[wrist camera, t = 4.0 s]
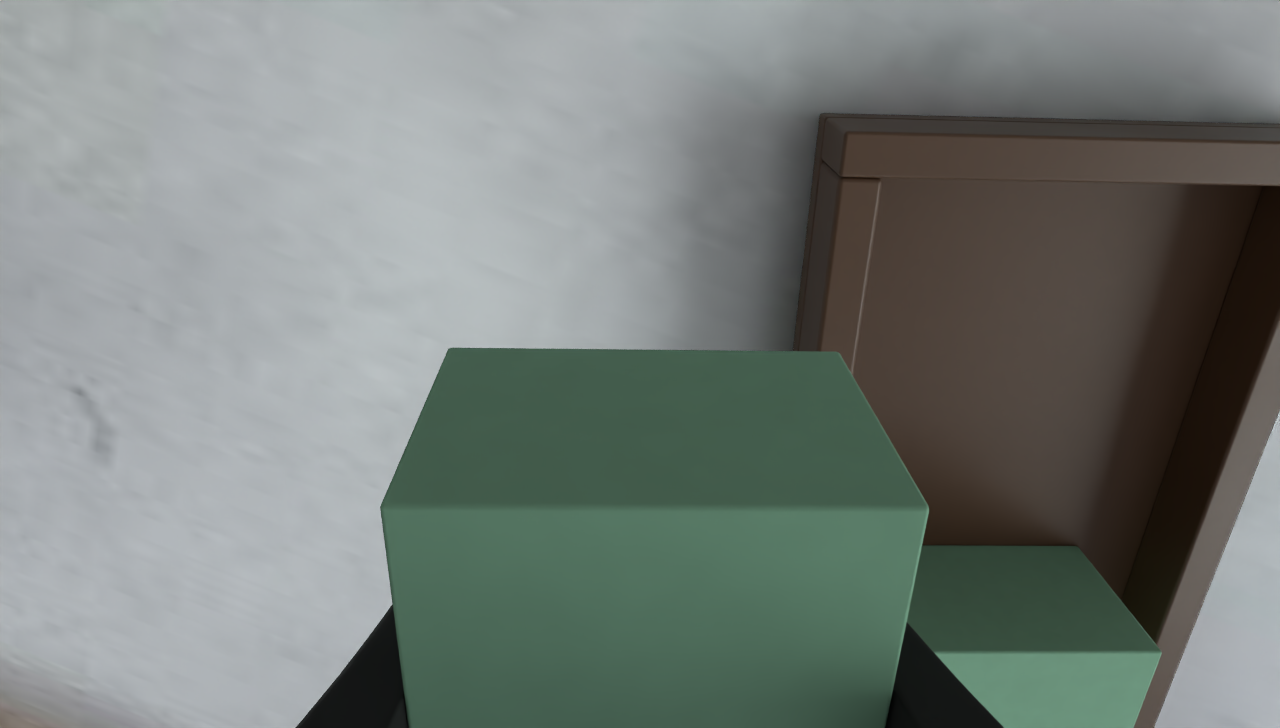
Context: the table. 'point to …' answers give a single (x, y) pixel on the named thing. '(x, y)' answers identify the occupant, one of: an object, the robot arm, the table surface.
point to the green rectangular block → (649, 543)
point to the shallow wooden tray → (1060, 332)
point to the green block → (1033, 634)
